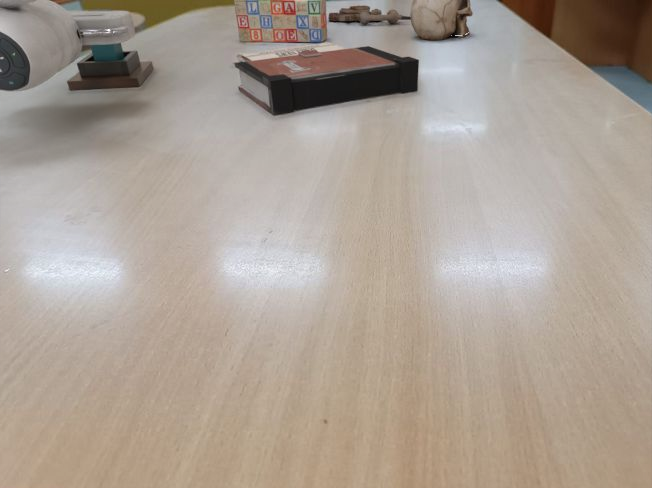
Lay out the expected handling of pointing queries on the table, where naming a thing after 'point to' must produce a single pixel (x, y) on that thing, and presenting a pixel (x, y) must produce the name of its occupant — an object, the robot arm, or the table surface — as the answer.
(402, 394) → the table surface
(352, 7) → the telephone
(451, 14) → the skull
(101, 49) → the teal rectangular block
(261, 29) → the stack of blocks
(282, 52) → the newspaper
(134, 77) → the lower pad
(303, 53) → the book
